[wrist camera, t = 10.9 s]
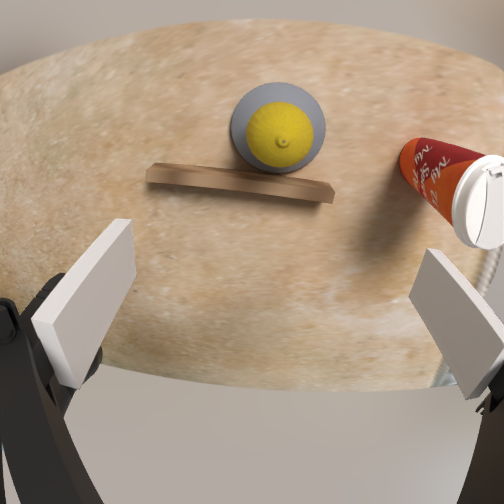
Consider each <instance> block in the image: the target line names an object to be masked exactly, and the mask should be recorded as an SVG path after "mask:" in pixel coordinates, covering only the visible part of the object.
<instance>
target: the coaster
mask: <svg viewBox="0 0 504 504" xmlns="http://www.w3.org/2000/svg"><path fill="white" fill-rule="evenodd" d="M272 102H286V103H290V104H293V105H295V106H297V107H298V108H300V109H301V110H302V111H303V112H304V113H305V114H306V115H307V117H308V118H309V120H310V121H311V124H312V127H313V136H314V139H313V143H312V147H311V149H310V151H309V153H308V154H307V155H306V156H305V158H304V159H303V160H301V161H300V162H298V163H297V164H295V165H292V166H289V167H282V168H280V167H272V166H269V165H267V164H264V163H263V162H261V161H260V160H258V159H257V158H256V157H255V155H254V154H253V153H252V152H251V150H250V148H249V146H248V143H247V139H246V128H247V125H248V121H249V119H250V118H251V116H252V115H253V113H254V112H255V111H256V110H257V109H259V108H260V107H262V106H264V105H265V104H268V103H272ZM325 131H326V128H325V119H324V115H323V112H322V110H321V108H320V106H319V104H318V103H317V101H316V100H315V99H314V98H313V97H312V96H311V95H310V94H309V93H308V92H306V91H305V90H303V89H301V88H299V87H297V86H295V85H292V84H288V83H280V82H278V83H268V84H264V85H261V86H259V87H256V88H254V89H253V90H251V91H250V92H248V93H247V94H246V95H245V96H244V97H243V98H242V99H241V100H240V102H239V103H238V105H237V106H236V108H235V111H234V113H233V116H232V122H231V132H232V138H233V141H234V144H235V146H236V148H237V150H238V152H239V153H240V154H241V156H242V157H243V158H244V159H245V160H246V161H247V162H249V163H250V164H251V165H253V166H254V167H256V168H258V169H260V170H263V171H267V172H272V173H286V172H291V171H294V170H297V169H299V168H301V167H303V166H305V165H306V164H308V163H309V162H310V161H311V160H312V159H313V158H314V157H315V156H316V155H317V153H318V152H319V150H320V148H321V147H322V144H323V142H324V138H325Z"/></svg>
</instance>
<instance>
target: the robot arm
mask: <svg viewBox="0 0 504 504" xmlns="http://www.w3.org/2000/svg"><path fill="white" fill-rule="evenodd" d="M136 276H137V273H136V263H135V252H134V240H133V227H132V220H131V219H117V218H116V219H115V220H114V221H113V222H112V223H111V224H110V225H109V226H108V227H107V228H106V229H105V230H104V231H103V232H102V234H101V235H100V236H99V237H98V238H97V239H96V240H95V241H94V242H93V243H92V245H91V246H90V247H89V248H88V249H87V250H86V251H85V252H84V254H83V255H82V256H81V257H80V258H79V259H78V260H77V262H76V263H75V264H74V265H73V266H72V267H71V269H70V270H69V271H68V272H67V273H66V274H65V273H59V274H57V275H56V276H54V277H53V278H51V279H50V280H49V281H48V282H47V283H46V284H45V285H44V286H43V288H42V290H40V291H39V292H38V294H37V295H36V298H34V299H33V300H32V301H31V302H30V304H29V305H28V306H27V307H26V309H25V310H24V311H23V312H22V314H21V315H20V316H19V313H18V311H17V308H16V306H15V303H14V302H13V301H12V300H10V299H7V298H0V504H6V498H5V490H4V479H3V465H2V450H4V452H5V456H6V460H7V463H8V467H9V470H10V474H11V477H12V480H13V483H14V486H15V489H16V492H17V494H18V497H19V500H20V502H21V504H104V503H103V501H102V500H101V498H100V496H99V494H98V492H97V491H96V489H95V487H94V485H93V483H92V481H91V479H90V477H89V475H88V473H87V471H86V469H85V467H84V465H83V463H82V461H81V459H80V457H79V454H78V452H77V450H76V448H75V446H74V443H73V441H72V438H71V436H70V434H69V431H68V429H67V426H66V424H65V421H64V415H65V413H66V410H67V408H68V406H69V403H70V401H71V399H72V397H73V395H74V393H75V391H76V390H77V389H80V388H81V385H82V384H83V383H85V382H86V381H87V379H89V378H90V376H92V375H93V374H94V373H95V372H96V370H97V369H98V366H99V364H100V362H101V360H102V350H101V346H100V345H101V343H102V341H103V339H104V337H105V335H106V333H107V331H108V329H109V327H110V325H111V323H112V321H113V319H114V317H115V315H116V313H117V311H118V309H119V307H120V306H121V304H122V302H123V300H124V298H125V296H126V294H127V292H128V291H129V289H130V287H131V285H132V283H133V281H134V280H135V278H136ZM409 298H410V300H411V302H412V303H413V305H414V306H415V308H416V310H417V311H418V313H419V315H420V316H421V318H422V320H423V321H424V323H425V325H426V327H427V328H428V330H429V332H430V333H431V335H432V337H433V339H434V340H435V342H436V344H437V346H438V348H439V349H440V351H441V353H442V355H443V357H444V359H445V360H446V362H447V364H448V366H449V368H450V370H451V372H452V374H453V376H454V377H455V379H456V381H457V383H458V385H459V387H460V389H461V391H462V393H463V395H464V397H465V400H468V399H472V398H477V397H479V396H480V395H481V394H482V393H483V391H484V390H485V389H486V388H487V386H488V387H489V389H490V391H491V392H490V393H489V394H488V396H487V397H486V398H485V399H484V401H483V402H482V403H481V404H480V405H479V406H478V408H477V409H476V412H478V411H479V410H480V409H481V408H484V410H483V411H482V412H481V413H480V414H481V415H483V416H482V422H481V425H480V430H479V434H478V438H477V442H476V446H475V450H474V453H473V457H472V461H471V464H470V467H469V470H468V473H467V476H466V479H465V482H464V485H463V488H462V491H461V494H460V496H459V499H458V501H457V504H504V324H503V323H502V322H501V321H500V319H499V318H498V317H497V315H496V314H495V313H494V312H493V310H492V309H491V308H490V307H489V306H488V304H487V303H486V302H485V301H484V299H483V298H482V297H481V296H480V295H479V293H478V292H477V291H476V290H475V289H474V288H473V286H472V285H471V284H470V283H469V282H468V281H467V279H466V278H465V277H464V276H463V275H462V274H461V273H460V272H459V270H458V269H457V268H456V267H455V266H454V265H453V264H452V263H451V262H450V261H449V260H448V258H447V257H446V256H445V255H444V254H443V253H442V252H441V251H440V250H438V249H430V248H427V249H426V252H425V255H424V258H423V261H422V263H421V266H420V269H419V271H418V274H417V277H416V279H415V282H414V284H413V287H412V289H411V292H410V294H409Z"/></svg>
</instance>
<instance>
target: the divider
mask: <svg viewBox="0 0 504 504" xmlns="http://www.w3.org/2000/svg"><path fill="white" fill-rule="evenodd" d="M146 182H154V183H166V184H177V185H188V186H199V187H208V188H218V189H227V190H236V191H244V192H252V193H260V194H268V195H276V196H283V197H290V198H297V199H304V200H311V201H317V202H324V203H330V204H332V203H333V199H334V195H335V191H334V190H333V189H332V187H331V186H330V184H329V183H325V182H319V181H313V180H306V179H300V178H293V177H286V176H279V175H272V174H264V173H257V172H249V171H240V170H231V169H222V168H212V167H202V166H191V165H179V164H166V163H155V164H153V165H152V166H151V167H149V168H148V169H147V170H146Z"/></svg>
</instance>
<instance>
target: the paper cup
mask: <svg viewBox="0 0 504 504" xmlns="http://www.w3.org/2000/svg"><path fill="white" fill-rule="evenodd" d="M399 166H400V171H401V173H402V175H403V177H404V178H405V180H406V181H407V182H408V183H409V184H410V185H411V186H412V187H413V188H414V189H415V190H416V191H417V192H418V193H420V194H421V195H422V196H423V197H424V198H425V199H426V200H427V201H428V202H429V203H430V204H431V205H432V206H433V207H434V208H435V209H436V210H437V211H438V212H439V213H440V214H441V215H442V216H443V217H444V218H445V219H446V220H447V221H448V222H449V223H450V224H451V225H452V226H453V227H454V230H455V232H456V234H457V236H458V238H459V239H460V240H461V241H462V242H463V243H464V244H465V245H467V246H469V247H473V248H481V249H484V250H490V249H494V248H496V247H498V246H500V245H502V244H504V158H503V157H501V156H498V155H488V156H487V155H484V154H481V153H478V152H475V151H471V150H468V149H465V148H462V147H459V146H456V145H452V144H448V143H444V142H441V141H437V140H433V139H428V138H415V139H413V140H411V141H409V142H408V143H407V144H406V145H405V146H404V148H403V150H402V152H401V154H400V159H399Z"/></svg>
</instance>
